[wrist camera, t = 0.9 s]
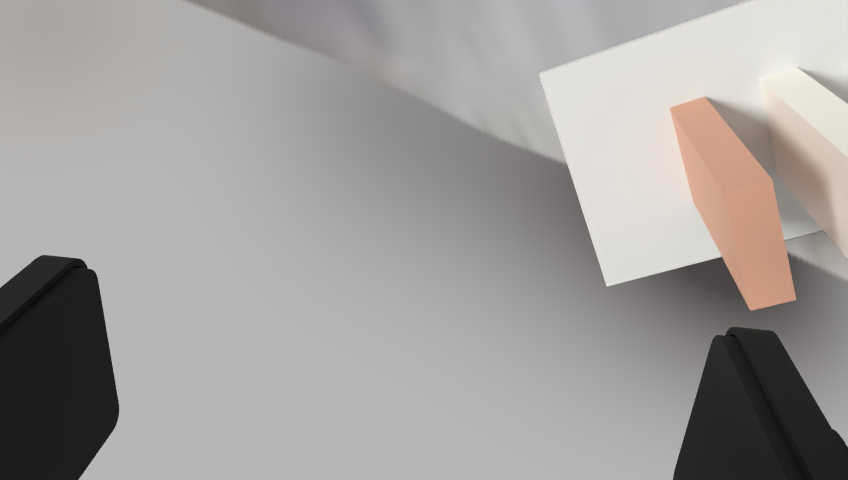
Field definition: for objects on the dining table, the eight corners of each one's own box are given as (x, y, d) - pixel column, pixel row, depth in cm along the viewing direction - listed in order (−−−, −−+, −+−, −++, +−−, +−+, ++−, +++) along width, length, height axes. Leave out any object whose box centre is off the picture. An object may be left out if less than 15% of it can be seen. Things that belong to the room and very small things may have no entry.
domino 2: (796, 67, 32) (901, 142, 24) (813, 166, 34) (916, 270, 26) (759, 79, 33) (848, 157, 24) (778, 176, 35) (867, 282, 26)
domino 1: (704, 96, 33) (772, 179, 25) (726, 191, 35) (796, 299, 27) (669, 107, 34) (723, 193, 25) (692, 200, 36) (750, 310, 27)
